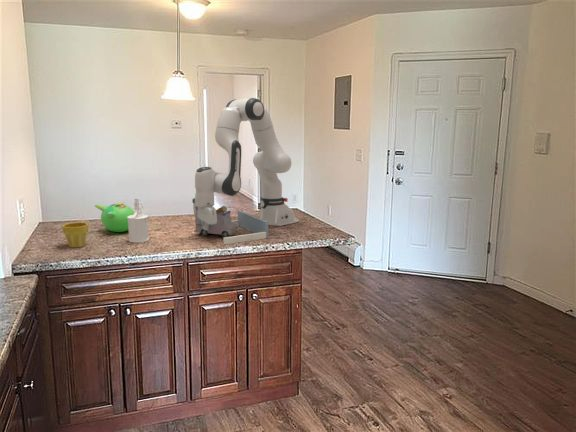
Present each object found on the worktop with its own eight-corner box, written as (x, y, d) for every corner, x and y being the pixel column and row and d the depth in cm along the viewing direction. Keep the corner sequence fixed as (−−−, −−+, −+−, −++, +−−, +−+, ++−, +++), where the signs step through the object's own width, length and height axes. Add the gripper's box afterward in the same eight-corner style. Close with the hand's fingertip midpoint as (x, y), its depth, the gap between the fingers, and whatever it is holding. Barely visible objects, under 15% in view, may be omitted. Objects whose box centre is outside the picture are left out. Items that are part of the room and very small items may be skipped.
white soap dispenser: (132, 237, 228) (130, 196, 224) (151, 237, 228) (149, 196, 223) (124, 243, 218) (121, 200, 213) (144, 243, 217) (142, 201, 213)
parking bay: (239, 225, 255) (239, 210, 253) (268, 238, 230) (268, 222, 228) (199, 230, 243) (198, 215, 241) (224, 244, 218) (224, 227, 216)
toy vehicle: (230, 239, 227) (230, 208, 223) (194, 235, 232) (193, 205, 229) (238, 235, 235) (238, 205, 232) (203, 231, 241) (202, 202, 238)
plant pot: (69, 242, 218) (67, 222, 216) (92, 242, 219) (90, 221, 217) (60, 249, 208) (58, 227, 206) (85, 248, 209) (83, 227, 207)
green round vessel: (142, 231, 239) (141, 203, 236) (111, 237, 227) (109, 207, 224) (125, 225, 251) (123, 198, 248) (93, 231, 239) (91, 202, 236)
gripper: (220, 204, 218) (220, 233, 221) (202, 197, 235) (203, 224, 238) (207, 205, 215) (207, 235, 218) (190, 198, 232) (191, 226, 235)
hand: (205, 229), depth 228 cm, fingers closed
